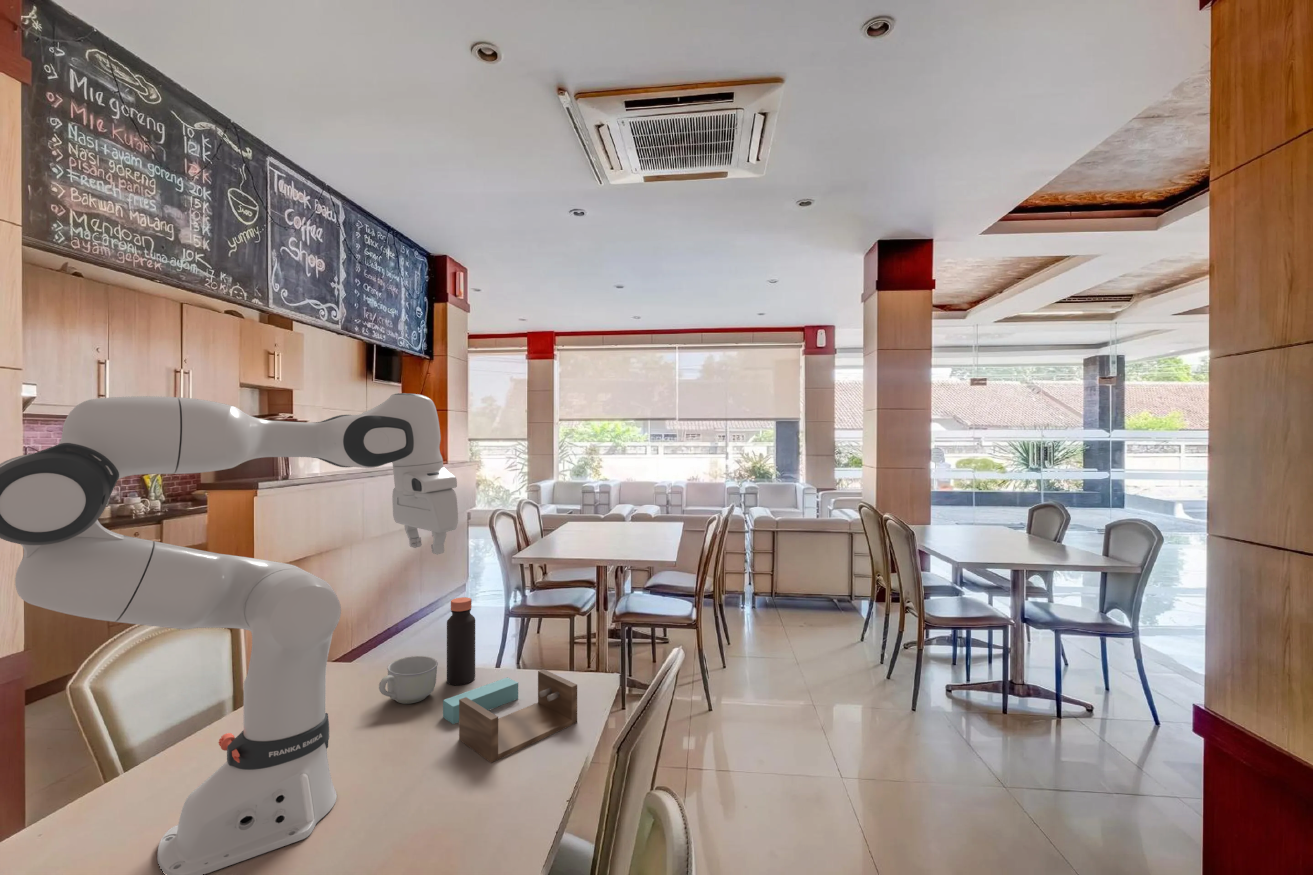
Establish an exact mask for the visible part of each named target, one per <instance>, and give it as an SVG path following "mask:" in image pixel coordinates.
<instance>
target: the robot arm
mask: <svg viewBox="0 0 1313 875" xmlns="http://www.w3.org/2000/svg"><path fill="white" fill-rule="evenodd" d="M61 433H62V434H61V438H60V441H59V443H58V444H56V445H53V446H51V447H48V448H45V449H43V450H40V451H37V452H35V453H34V452H33V453H28V454H24V455H18V456H15V457H12V458H10V459H7V460H5V461H3V462H1V463H0V540H3V541H5V542H6V541H7V542H10V543H13V544H16V545H20V546H21V547H22V549H23V556H22V559H21V561H20V563H19V564H18V567H17V570H16V573H15V578H14V582H15V584H14V585H15V589H16V592H17V595H18V596H19V597H20V599H21V600H23V602H25V603H27V604H29V605H32V606H36V607H39V608H43V609H46V610H50V611H53V612H57V613H62V614H66V615H69V616H70V615H71V616H76V617H80V618H85V619H86V618H87V619H92V620H97V621H98V620H99V621H105V622H114V623H120V624H121V623H123V624H129V625H130V624H131V625H140V626H150V627H159V628H168V629H177V630H183V631H185V630H192V629H206V628H207V629H212V628H214V629H218V628H219V629H223V628H224V629H238V630H246V631H249V632H250V633H251V651H250V652H251V653H250V657H249V658H250V659H249V663H248V669H247V674H246V677H245V679H244V682H243V729H242V731H241V732H240V733H239V734H238V735H237V736H236V737H235V735H234V734H233V733H231V732H227V733H225V734H222V735H221V736H220V737H221V738H219V740H218V742H217V743H218V745H219V747H220V749H221V750H222V751H226V760H227V761H226V762H224V763H223V764H222V765H220V767H219V768H218V769H217V770H216V771H214V773H212V774H211V775H210V776H208V778H207V779H205V780H204V781H203V782H202V783H201V784H200V785H199V786H197V787H196V788H195V789H194V790H193V791H192V792H191V793H190V794H189V795H188V796H187V797H186V799H185V801H184V804H183V806H182V809H181V812H180V815H179V819H178V824H175V825H173V826H172V827H171V828H169V829H168V830H167V831H165V833H164V834H163V836H162V837H161V839H160V841H159V843H158V847H157V855H156V856H157V857H156V860H157V864H159V865H158V867H159V866H160V868H159V870H160V869H162V871H163V872H164V873H165V874H167V875H203V874H204V875H206V874H209V873H212V872H215V871H218V870H221V869H223V868H226V867H228V866H231V865H235V864H237V863H240V862H243V861H246V860H248V859H251V858H254V857H257V856H261V855H263V854H266V853H269V852H271V851H274V850H277V849H279V848H283V847H284V846H285V847H286V846H288V845H290V844H294V843H297V842H299V841H303V840H304V839H306V838H308V837H309V836H310V835H311V834H312V833H313V831H314V829H315V827H316V825H317V824H318V823H319V821H321V820H322V819H323V818H324V817H325V816H326V815H327V814H328V813H329V812H330V811H331V810H332V808H333V807H334V806H335V804H336V802H337V797H338V796H337V795H338V794H337V792H336V789H335V786H334V783H333V780H332V775H331V770H330V765H329V759H328V757H329V756H328V748H329V740H330V720H329V713H327V712H326V696H327V695H326V694H327V693H326V692H327V690H326V689H327V688H326V686H327V685H326V684H327V678H326V676H327V665H328V658H329V653H330V648H331V644H332V639H333V634H334V631H335V630H336V628H337V626H338V624H339V623H340V619H341V614H342V608H341V607H342V606H341V603H340V600H339V597H338V595H337V593H336V591H335V590H334V588H333V587H332V585H330V584H329V582H327V580H325V579H323V578H321V577H319V576H317V575H315V574H313V573H311V572H309V571H306V570H304V569H303V568H301V567H299V566H297V565H294V564H291V563H285V562H280V561H279V562H278V561H273V560H267V559H261V558H254V557H247V556H240V555H239V556H238V555H232V554H224V553H217V552H213V551H206V550H201V549H196V548H191V547H186V546H182V545H181V546H180V545H176V544H170V543H165V542H162V541H161V542H159V541H156V540H150V539H145V538H140V537H139V538H138V537H134V536H128V535H126V534H121V533H117V532H115V531H113V530H110V529H108V528H106V527H104V526H103V525H102V524H101V523H100V521H99V519H100V517H101V516H102V515H103V514H104V511H105V509H106V507H107V505H108V502H109V500H110V498H111V496H112V494H113V491H114V489H115V487H116V485H117V483H118V481H119V479H123V478H126V477H129V476H136V475H137V476H138V475H157V474H158V475H172V474H175V475H181V474H182V475H183V474H185V475H187V474H199V473H200V474H201V473H210V472H217V471H222V470H223V471H224V470H228V469H234V468H235V467H238V466H239V465H240V464H241V465H242V464H243V463H246V462H248V461H251V460H255V459H260V458H261V459H262V458H313V459H317V460H321V461H322V462H325V463H327V464H329V465H332V466H335V467H339V468H362V469H373V468H378V467H382V466H385V465H387V464H392V472H393V480H394V481H393V482H394V487H393V489H392V493H391V494H392V498H391V500H392V516H393V520H394V522H395V524H400V525H403V526H404V531H405V534H406V536H407V538H408V543H409V544H408V545H409V547H410V548H414V549H417V548H420V547H421V546H422V537H420V534H419V530H418V529H421V530H424V531H429V532H431V536H432V537H433V541H432V544H430V547H431V553H432V554H434V555H437V556H438V555H441V554H443V553H445V542H446V537H447V532H452V531H454V530H456V529H457V526H458V524H459V510H458V509H459V508H458V500H457V499H458V496H457V494H456V491H455V490H454V489H455V488H457V487H458V480H457V477H456V476H455V475H454V474H453V473H452V472H450V471H449V470H447V468H446V467H444V458H443V455H442V454H441V450H440V446H441V441H442V440H441V438H442V437H441V429H440V422H439V416H438V412H437V408H436V405H435V402H434V401H433V400H432V399H431V398H429V397H428V396H426V395H423V394H418V393H417V394H416V393H406V392H403V393H400V392H399V393H394V394H391V395H390V396H389V397H388V399H386V400H385V401H383V402H382V403H380V404H378V405H376V406H375V407H373V408H371V409H369V410H367V411H364V412H362V413H358V414H340V415H336V416H332V417H330V418H327V419H325V420H321V421H317V422H305V421H304V422H302V421H301V422H300V421H285V420H270V419H264V418H258V417H255V416H252V415H250V414H248V413H246V412H244V411H243V410H241V409H240V408H239V407H237V406H235V405H230V404H227V403H221V402H217V401H213V400H208V399H207V400H206V399H199V398H193V397H192V398H191V397H190V398H189V397H179V396H178V397H175V396H157V395H156V396H154V395H153V396H150V395H149V396H148V395H147V396H146V395H145V396H144V395H141V396H140V395H139V396H133V395H132V396H113V397H101V398H93V399H92V398H91V399H88V400H85V401H81V403H79V404H77V405H76V406H74V407H73V408H72V410H71V411H70V412H69V413H68V415H67V416H66V418H65V420H64V423H63V426H62V432H61ZM162 871H161V872H162Z"/></svg>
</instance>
